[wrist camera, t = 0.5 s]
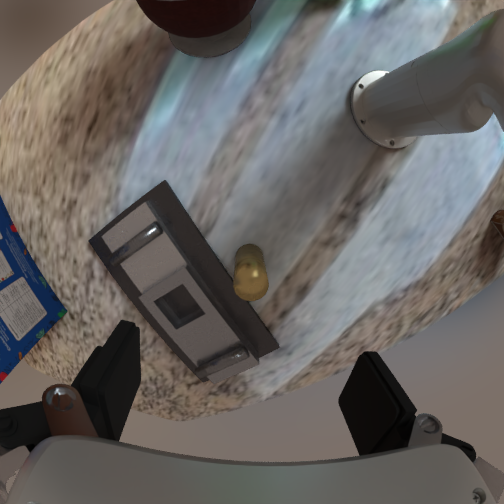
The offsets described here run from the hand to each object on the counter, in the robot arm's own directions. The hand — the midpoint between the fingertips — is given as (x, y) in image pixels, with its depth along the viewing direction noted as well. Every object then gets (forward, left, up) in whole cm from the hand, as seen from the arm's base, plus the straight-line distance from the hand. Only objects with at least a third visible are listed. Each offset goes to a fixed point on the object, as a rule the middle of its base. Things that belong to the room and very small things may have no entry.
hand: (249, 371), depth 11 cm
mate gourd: (-11, -29, -31) cm, 44 cm away
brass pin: (+2, +5, -31) cm, 31 cm away
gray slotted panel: (+14, +5, -31) cm, 34 cm away
